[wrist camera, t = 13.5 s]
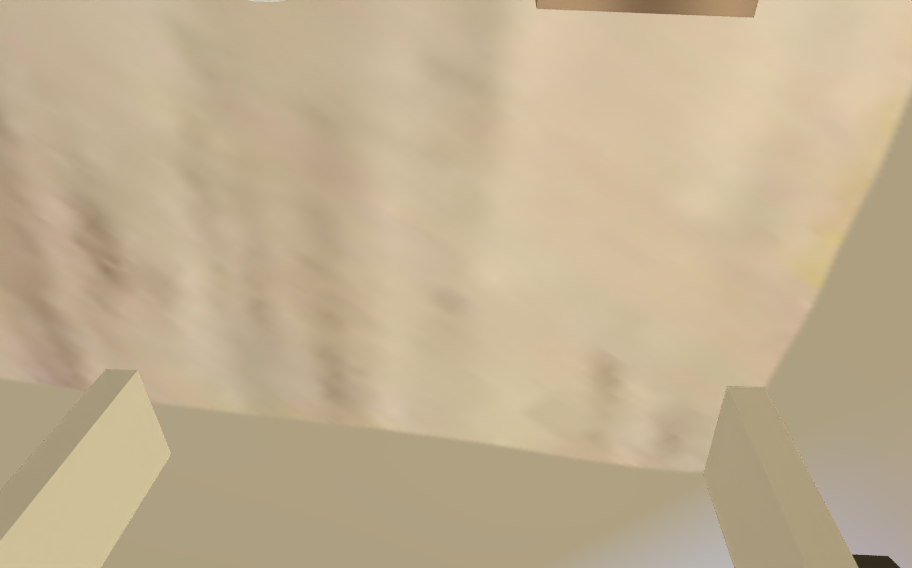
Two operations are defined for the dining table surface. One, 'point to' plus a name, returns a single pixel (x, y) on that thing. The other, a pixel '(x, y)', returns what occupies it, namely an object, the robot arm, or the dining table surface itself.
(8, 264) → the dining table surface
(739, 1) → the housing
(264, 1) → the disposable coffee cup
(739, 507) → the robot arm
